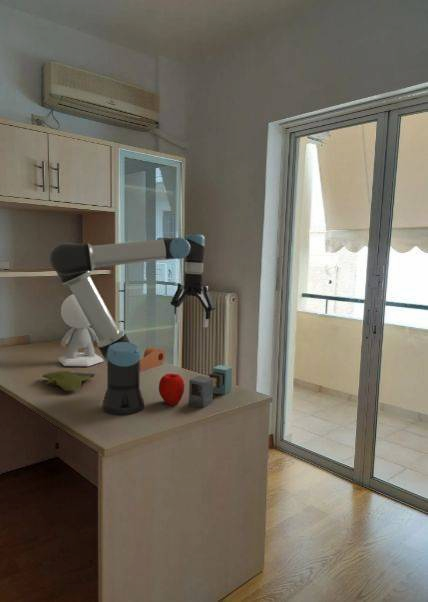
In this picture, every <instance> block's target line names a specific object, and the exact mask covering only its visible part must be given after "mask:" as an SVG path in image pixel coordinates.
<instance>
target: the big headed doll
mask: <svg viewBox="0 0 428 602" xmlns="http://www.w3.org/2000/svg"><path fill="white" fill-rule="evenodd" d="M60 315H61V318H62V321H64V323H65V324H66V325H67V326H69V327H71V328H70V329H69V330H68V331H67V332H66V333H65V334H64V336H63V337H62V339H61V342H60V346H61V348H65V347H66V345H68V348H67V351H66V352H67V353H66V355H63V356H60V357H59V358H58V360H57V361H58V362H59V363H60V364H61V365H63V366H64V367H91V366H93V365H94V366H95V365H96V364H99V363H103V362H104V361H105V359H104V358H102V357H101V356H100V355H98V354H97V353H95V352H96V351H95V348H94V343H95V342H96V344H97V345H98V342H99V340H98V338H97V336H96V334H95V332H94V331H93V329H92V327H90V326H91V325H90V323H89V321H88V320H87V318H86V316H85V314H84V312H83V311H82V309H81V307H80V305H79V303H78V302H77V300H76V298H75V296H74V294H73V293H72V294H70V295H69V296H67V297H65V299H64V301H63V302H62V304H61V306H60ZM79 349H83V352H79Z"/></svg>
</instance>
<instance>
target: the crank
mask: <svg viewBox="0 0 428 602" xmlns="http://www.w3.org/2000/svg"><path fill="white" fill-rule="evenodd" d="M165 361H166V352H165V349H162V348H157V347H156V348H155V347H150V346H149V347H147V348H146V349H145V350H144V353H143V357H142V358H140V373H141V372H143V371H146V370H150V369H152V368H156V367H157V366H161V365H162V364H164V362H165Z"/></svg>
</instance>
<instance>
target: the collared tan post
mask: <svg viewBox="0 0 428 602" xmlns="http://www.w3.org/2000/svg"><path fill="white" fill-rule="evenodd" d="M208 377H209V378H213V388H214V387H218V388H220V387H222V386H223V382H224V374H222V373H213V372H211V373H209V376H208ZM199 390H201V391H202V386H201V385H200V386H199Z"/></svg>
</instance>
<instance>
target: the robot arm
mask: <svg viewBox="0 0 428 602" xmlns="http://www.w3.org/2000/svg"><path fill="white" fill-rule="evenodd" d="M205 242H206V241H205V236H204V235H203V234H194V233H193V234H191V233H189V234H188V233H187V234H186V236H185V238H183V237H180V236H179V237H164V236H163V237H158V238H157V239H153V240H152V239H151V240H143V241H142V240H141V241H132V242H131V241H130V242H121V243H120V242H119V243H108V244H101V245H100V244H99V245H97V244H96V245H92V244H90V243H87V242H86V243H73V242H69V241H64V242H61V243H60V242H59V243H58V244H56V245H55V246H54V247H53V248H52V249H51V251H50V253H49V257H48V261H49V265H50V267H51V268H52V269H53V271H54V272H56V274H57V276H58V277H59V279H60V281H61V284H63V285H65V286H67V287H69V289H70V291H71V292H72V294H74V296H75V298H76V300H77V302H78V303H79V305H80V307H81V309H82V311H83V312H84V314H85V316H86V318H87V320H88V321H89V323H90V326H91V327H90V328H91V329H93V331H94V332H95V334H96V336H97V338H98V340H99V342H98V344H97V348H98V349H99V352H100V354H101V355H102V357H103V360H104V361H105V364H106V366H107V367H106V368H107V370H106V371H107V373H106V374H107V377H106V378H107V385H106V387H107V389H106V391H105V394H104V397H103V400H102V408H101V409H102V411H103V412H104V413H107V414H108V415H109V414H110V415H114V416H116V415H117V416H128V415H134V414H137V413H140V412H141V411H143V410H144V409H145V398H143V394H142V390H141V386H140V383H141V381H140V380H141V379H140V378H141V377H140V375H141V372H140V360H141V355H142V354H141V350H140V347H139V346H138V345H137V344H135V343H132V342H131V341H130V340H129V337H128V336H127V334H126V332H125V331H124V330H120V329H119V328H118V325H117V324H116V322H115V320H114V318H113V316H112V315H111V312H110V310H109V309H108V307H107V305H106V303H105V301H104V299H103V298H102V296H101V294H100V292H99V290H98V288H97V286H96V284H95V283H94V281H93V279H92V277H91V273H92V271H94V269H95V268H102V267H104V268H105V267H111V266H120V265H121V266H122V265H130V264H138V263H147V262H156V261H165V260H168V261H169V260H175V259H176V260H181V259H184V272H185V273H184V276H183V277H184V279H183V281H184V283H178V284H177V288H176V291H175V292H174V295H173V297H172V299H171V301H170V306H173V307H174V311H173V312H174V315H175V318H174V319H175V321H174V323H175V324H179V323H181V319H182V318H181V317H182V306H181V305H182V304H183V302H184V301H185V300H186V299H187V298H188V297H189V296H192V297H195V298H197V299H198V300H199V303H200V304H201V306H202V307H203V308H204V311H203V318H202V327H203V328H208V327H209V320H210V319H211V311H215V310H216V307H215V304H214V300H213V298H212V295H211V293H210V287H209V285H206V286H203V281H204V274H203V272H204V263H205V262H204V261H205V260H204V259H205V247H206V246H205V244H206V243H205ZM183 290H184V291H183Z"/></svg>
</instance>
